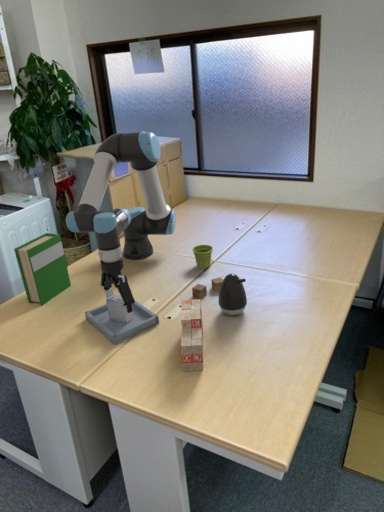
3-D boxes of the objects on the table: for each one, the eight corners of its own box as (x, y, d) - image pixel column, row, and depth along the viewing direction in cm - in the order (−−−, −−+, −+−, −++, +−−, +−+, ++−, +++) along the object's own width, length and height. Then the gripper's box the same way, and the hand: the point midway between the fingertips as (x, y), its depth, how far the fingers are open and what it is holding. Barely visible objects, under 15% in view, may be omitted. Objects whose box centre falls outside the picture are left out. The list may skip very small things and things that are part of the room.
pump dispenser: (240, 322, 140) (238, 283, 134) (214, 315, 146) (211, 277, 140) (252, 308, 148) (251, 271, 142) (227, 302, 153) (225, 266, 147)
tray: (86, 319, 149) (84, 312, 148) (127, 301, 159) (126, 294, 158) (114, 344, 133) (113, 337, 132) (159, 323, 143) (158, 316, 142)
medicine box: (134, 317, 146) (130, 297, 143) (127, 324, 142) (123, 303, 139) (116, 314, 149) (112, 293, 146) (109, 320, 146) (105, 299, 142)
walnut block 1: (192, 296, 159) (192, 287, 158) (198, 292, 162) (197, 283, 161) (201, 299, 157) (200, 290, 155) (206, 294, 160) (206, 286, 158)
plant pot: (212, 270, 179) (211, 252, 176) (191, 270, 181) (190, 252, 178) (215, 261, 188) (214, 244, 184) (195, 261, 190) (194, 244, 186)
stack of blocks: (203, 371, 118) (201, 336, 113) (182, 372, 119) (179, 337, 114) (203, 329, 138) (200, 298, 133) (184, 330, 138) (181, 299, 133)
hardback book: (42, 305, 162) (28, 250, 152) (28, 302, 165) (13, 248, 155) (71, 285, 176) (59, 234, 167) (57, 283, 179) (46, 233, 169)
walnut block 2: (211, 287, 165) (211, 279, 163) (220, 285, 166) (220, 277, 164) (215, 292, 162) (215, 283, 160) (224, 289, 163) (224, 281, 161)
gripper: (85, 251, 143) (95, 303, 152) (119, 273, 125) (128, 330, 134) (104, 245, 147) (112, 296, 156) (140, 265, 129) (147, 321, 138)
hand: (120, 312), depth 145 cm, fingers open, 13 cm apart
